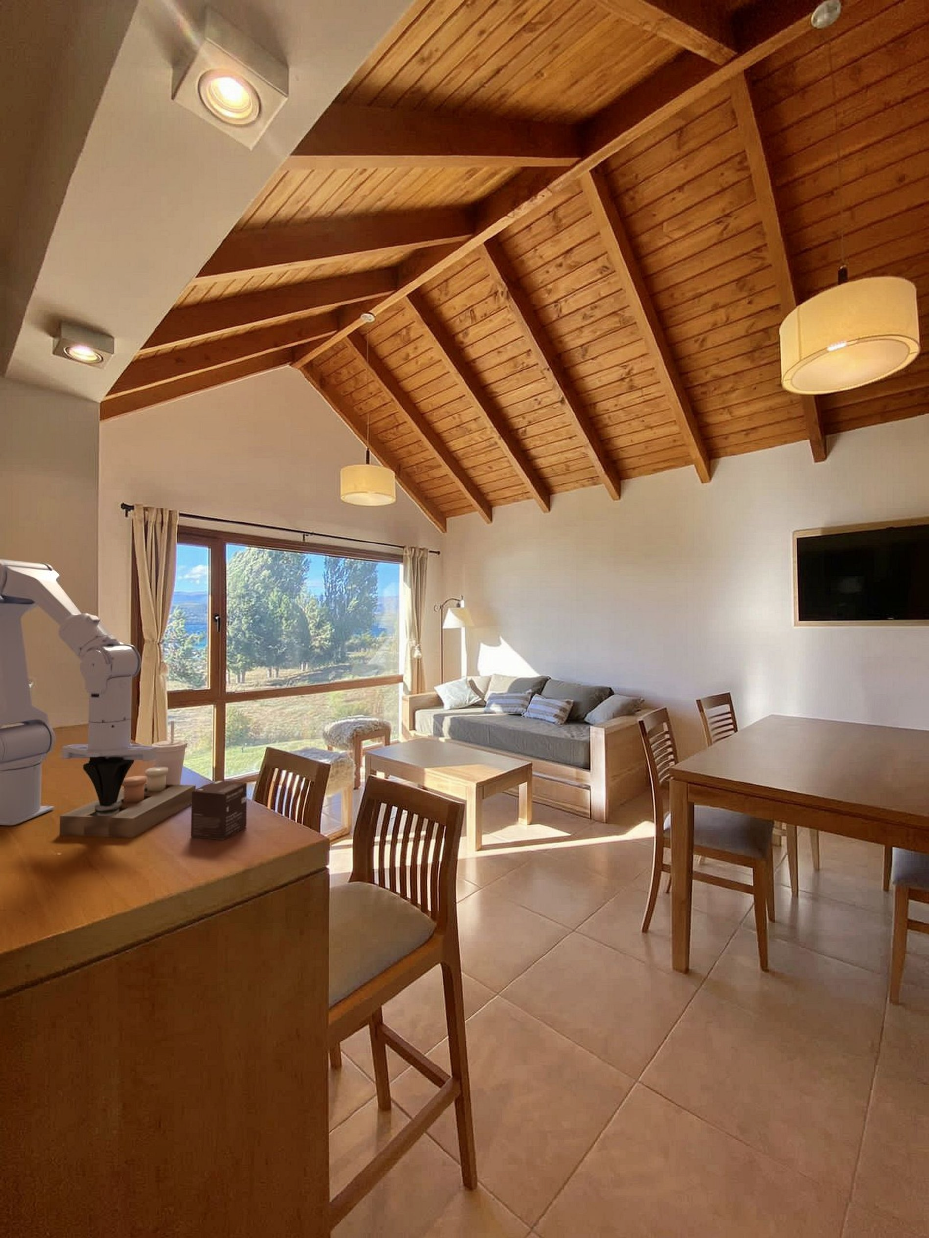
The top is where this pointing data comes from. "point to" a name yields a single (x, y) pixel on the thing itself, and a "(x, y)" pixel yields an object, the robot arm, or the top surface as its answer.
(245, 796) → the box
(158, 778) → the plug cream
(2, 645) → the robot arm
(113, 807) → the plug metal
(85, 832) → the socket board
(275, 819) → the top surface
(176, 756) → the smoothie
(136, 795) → the plug terracotta
